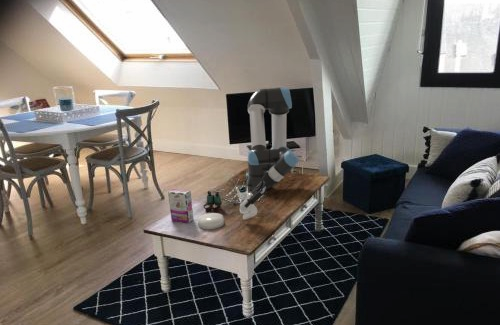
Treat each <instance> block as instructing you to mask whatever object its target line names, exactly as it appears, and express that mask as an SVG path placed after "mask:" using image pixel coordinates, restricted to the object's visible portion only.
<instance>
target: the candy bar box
mask: <svg viewBox="0 0 500 325" xmlns="http://www.w3.org/2000/svg"><path fill="white" fill-rule="evenodd" d="M191 193H192V192H191V191H190V190H183V189H171V190H170V191H168V193H167V194H168V202H169V210H170V219H171V222H177V223H178V222H179V223H186V224H190V223H191V222H192V221H194V214H193V213H194V212H193V211H194V210H193V203H192V194H191Z"/></svg>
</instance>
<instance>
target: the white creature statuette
mask: <svg viewBox="0 0 500 325" xmlns="http://www.w3.org/2000/svg"><path fill="white" fill-rule="evenodd" d="M252 195H253V194H252V193H251V192H248V194H247V196H246V197H245V199H246V201H247V199H250V198H251V197H252ZM239 214H241V215H242V220H244V221H245V220H248V219H250V218H253V217H255V216H256V215H257V214H258V208H257V207H256V206H255V203H254V204H253V205H252V204H251V205H250V206H249V207H248V208H247V209H246V210H245V211H244V212H242V211H241V210H240V209H239Z"/></svg>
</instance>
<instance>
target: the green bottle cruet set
mask: <svg viewBox="0 0 500 325" xmlns="http://www.w3.org/2000/svg"><path fill="white" fill-rule="evenodd" d="M219 193H220V192H219V191H216V192H215V193H214V194H212V191H210V190H208V191H207V195H206V202H205V204H204V205H203V209H204V210H205V212H206V213H219V212H220V210H221V209H222V203H223V202H222V199H221V195H220V194H219ZM214 206H216V207H214ZM212 211H213V212H212Z"/></svg>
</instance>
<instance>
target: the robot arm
mask: <svg viewBox="0 0 500 325" xmlns="http://www.w3.org/2000/svg"><path fill="white" fill-rule="evenodd" d="M247 103H248V104H247V112H248V114H249V124H250V141H251V143H250V144H251V150H249V151H247V152H248V154H247V167H248V170H247V172H248V177H247V181H246V184H245V185H246V186H245V187H247V186H248V189H249V191H251V192H250V193H252V194H253V195H252V197H251V198H250V199H247V201H246V198H245V199H244V200H243V201H242V202H241V203H240V205H239V208H238V209H239V211H240V210H241V211H242V212H244V211H245V210H246V209H247V208H248V207H249V206H250V205H251V204H252V205H253V204H254V205H255V203H256V202H257V201H258V200H259V199H260V198H261V197H262V196H263V195H265V194H266V192H267V190H268V189H269V190H270V188H274V187H275V186H276V185H277V184H278V182H281V180H284V177H285V176H286V175H288V173H289V172H290V171H292V169H294V167H296V166H297V164H298V163H299V162H300V158H299V157H298V155H297V154H296V153H295V152H293V151H292V150H290V148H289V147H287V114H288V113H289V112H290V109H292V108H293V106H292V105H293V102H292V96H291V92H290V89H289V88H288V87H276V88H275V87H274V88H271V87H270V88H260V89H258V90H256V91H255V92H253V93H252V95H251V96H250V98H249V100H248V102H247ZM266 110H268V112H269V114H270V115H271V143H272V144H271V148H269V149H267V141H266V129H265V128H266V127H265V117H264V114H265V112H266ZM248 189H247V190H248Z"/></svg>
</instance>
